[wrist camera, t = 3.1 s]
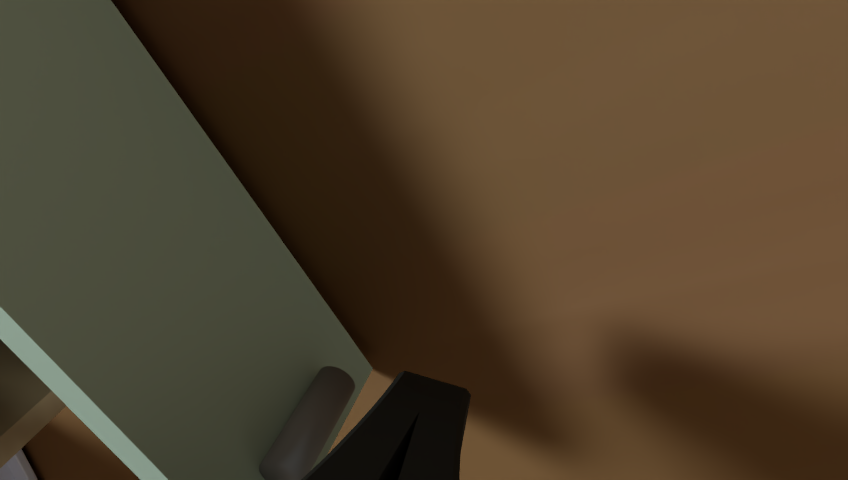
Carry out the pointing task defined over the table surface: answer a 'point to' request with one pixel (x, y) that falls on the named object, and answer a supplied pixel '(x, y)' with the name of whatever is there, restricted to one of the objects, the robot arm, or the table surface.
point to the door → (152, 265)
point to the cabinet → (22, 404)
